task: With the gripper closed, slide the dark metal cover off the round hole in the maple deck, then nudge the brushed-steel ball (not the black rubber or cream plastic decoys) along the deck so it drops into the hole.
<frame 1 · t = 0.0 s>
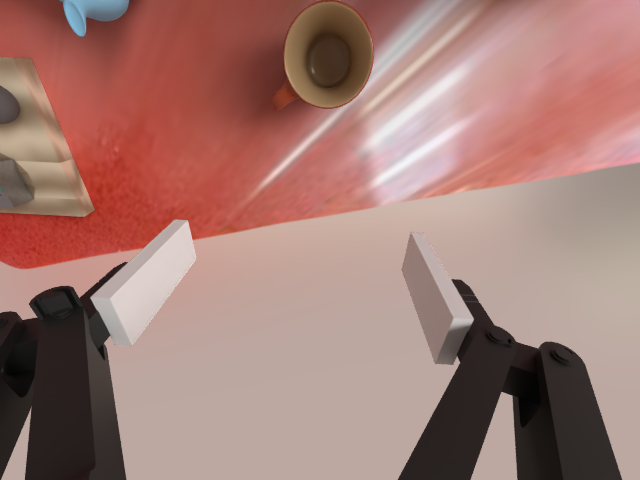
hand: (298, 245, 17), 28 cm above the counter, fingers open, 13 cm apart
mug: (318, 71, 36), on the counter
deck: (3, 141, 42), on the counter
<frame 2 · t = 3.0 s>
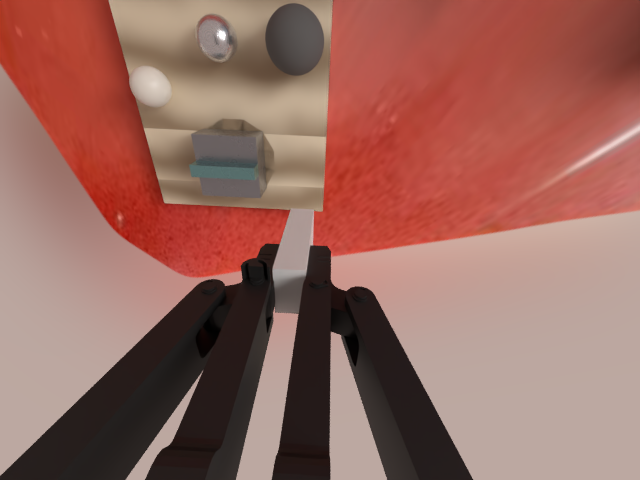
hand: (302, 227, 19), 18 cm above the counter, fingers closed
plastic decoy: (151, 87, 26), point 4 cm above the counter, touching deck
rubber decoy: (295, 41, 24), point 5 cm above the counter, touching deck
steel ball: (216, 39, 24), point 4 cm above the counter, touching deck
cover: (230, 165, 29), point 5 cm above the counter, slide at 0.0 cm
deck: (238, 108, 31), on the counter
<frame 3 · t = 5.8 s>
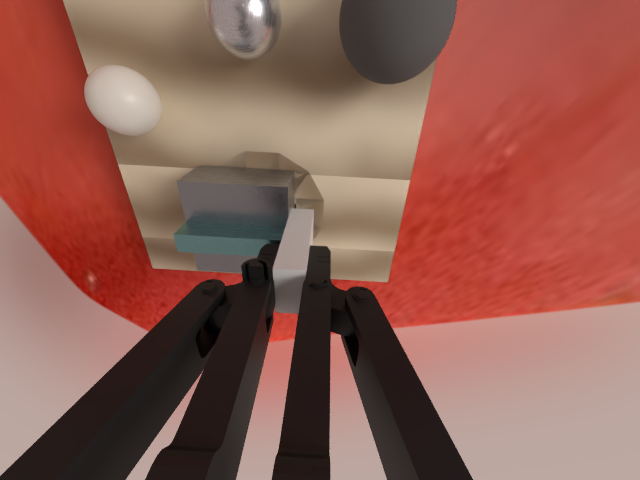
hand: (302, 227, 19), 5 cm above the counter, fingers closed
plastic decoy: (125, 102, 15), point 4 cm above the counter, touching deck
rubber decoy: (394, 20, 12), point 5 cm above the counter, touching deck
steel ball: (244, 16, 13), point 4 cm above the counter, touching deck
cover: (241, 226, 18), point 5 cm above the counter, slide at 1.0 cm, touching gripper
deck: (268, 133, 20), on the counter
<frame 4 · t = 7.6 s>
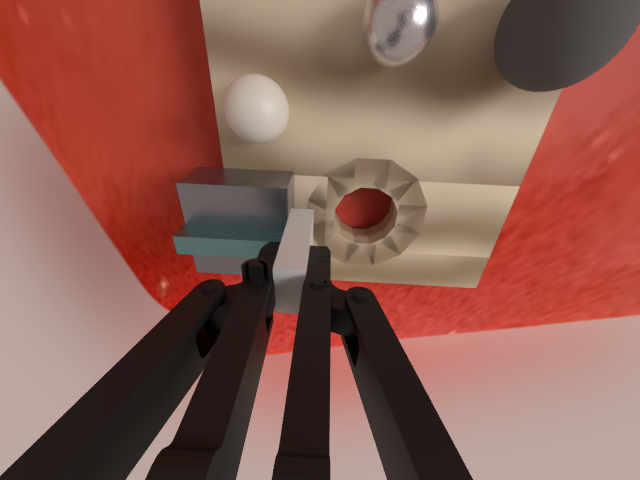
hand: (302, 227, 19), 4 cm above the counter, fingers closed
plastic decoy: (257, 110, 15), point 4 cm above the counter, touching deck
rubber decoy: (560, 28, 12), point 5 cm above the counter, touching deck
steel ball: (398, 24, 13), point 4 cm above the counter, touching deck
cover: (241, 228, 18), point 5 cm above the counter, slide at 8.4 cm, touching gripper
deck: (370, 139, 20), on the counter
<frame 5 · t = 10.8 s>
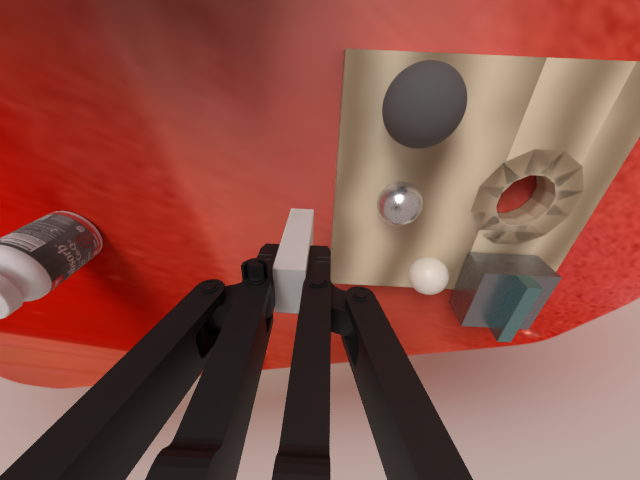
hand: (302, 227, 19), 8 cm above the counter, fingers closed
plastic decoy: (428, 275, 25), point 4 cm above the counter, touching deck
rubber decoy: (422, 107, 17), point 5 cm above the counter, touching deck
pill bottle: (78, 232, 29), on the counter
steel ball: (399, 203, 22), point 4 cm above the counter, touching deck
cover: (503, 297, 25), point 5 cm above the counter, slide at 8.4 cm
deck: (454, 187, 25), on the counter
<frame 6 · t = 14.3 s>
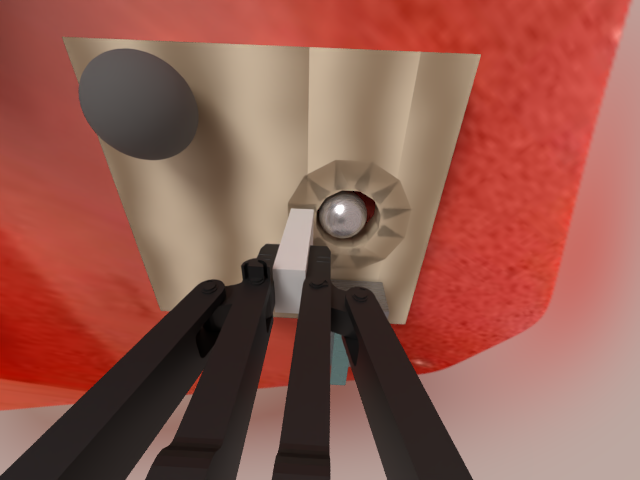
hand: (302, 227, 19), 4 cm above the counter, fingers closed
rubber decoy: (144, 108, 14), point 5 cm above the counter, touching deck
steel ball: (342, 214, 20), point 2 cm above the counter, tilted 16°
cover: (339, 331, 22), point 5 cm above the counter, slide at 8.4 cm
deck: (282, 203, 22), on the counter
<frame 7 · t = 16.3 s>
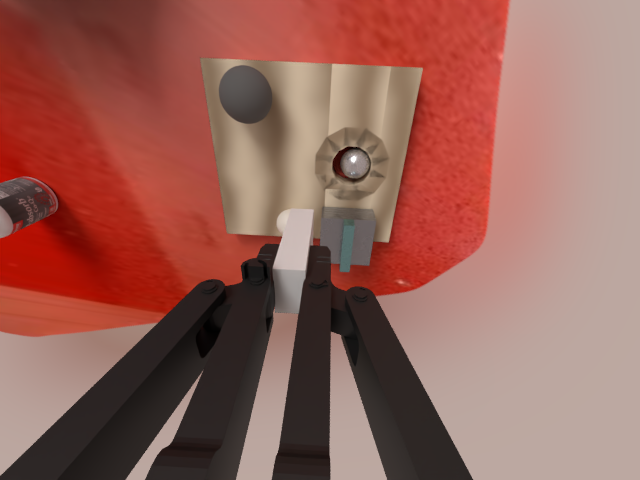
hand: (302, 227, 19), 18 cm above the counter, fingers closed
plastic decoy: (290, 223, 34), point 4 cm above the counter, touching deck
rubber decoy: (246, 95, 27), point 5 cm above the counter, touching deck
pill bottle: (39, 194, 39), on the counter
steel ball: (355, 163, 33), point 2 cm above the counter, tilted 41°
cover: (346, 239, 34), point 5 cm above the counter, slide at 8.4 cm
deck: (310, 158, 34), on the counter
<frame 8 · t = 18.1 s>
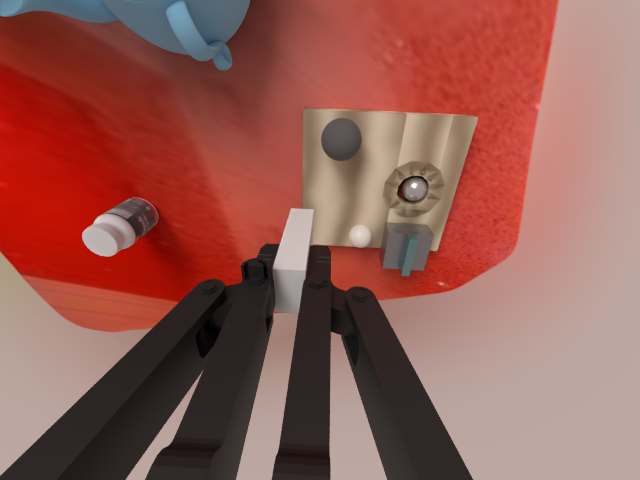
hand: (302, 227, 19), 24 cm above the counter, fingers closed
plastic decoy: (360, 236, 42), point 4 cm above the counter, touching deck
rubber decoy: (341, 140, 34), point 5 cm above the counter, touching deck
pill bottle: (143, 211, 46), on the counter
steel ball: (414, 188, 40), point 2 cm above the counter, tilted 36°
cover: (405, 249, 42), point 5 cm above the counter, slide at 8.4 cm
deck: (376, 183, 42), on the counter
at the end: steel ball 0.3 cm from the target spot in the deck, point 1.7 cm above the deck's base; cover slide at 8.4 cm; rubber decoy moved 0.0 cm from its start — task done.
